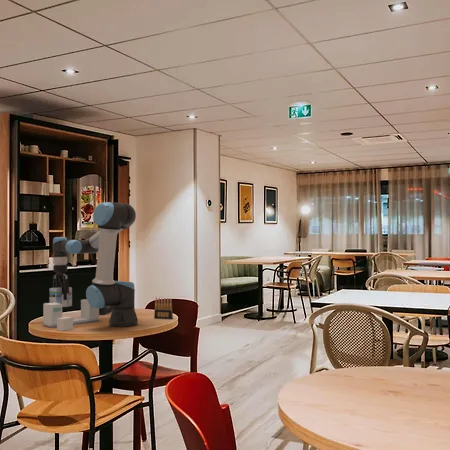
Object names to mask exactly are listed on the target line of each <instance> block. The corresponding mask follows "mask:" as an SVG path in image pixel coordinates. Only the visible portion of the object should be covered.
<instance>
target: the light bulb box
mask: <svg viewBox="0 0 450 450" xmlns="http://www.w3.org/2000/svg"><path fill="white" fill-rule="evenodd" d="M49 303H60V304H62V288H61V286H60V287H58V288H53V287H51V288H49ZM72 306H73V287H71V286H69V293H68V294H67V306H62V308H69V307H72Z"/></svg>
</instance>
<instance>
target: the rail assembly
mask: <svg viewBox="0 0 450 450" xmlns="http://www.w3.org/2000/svg"><path fill="white" fill-rule="evenodd" d="M42 312H43V313H42V314H43V317H42V319H43V320H42V321H43V324H42V326H43V327H48V328H52V329H53V328H57V318H62V317H63V307H62V304H60V303H50V302H45V303H43V311H42ZM99 318H100V315H99V308H93V307H92V306H90V304H89V303H88V301H87V298H86V299H84V298H83V299H80V317H77V318H73V326H75V325H82V324H89V323H96V322H100V319H99Z"/></svg>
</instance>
